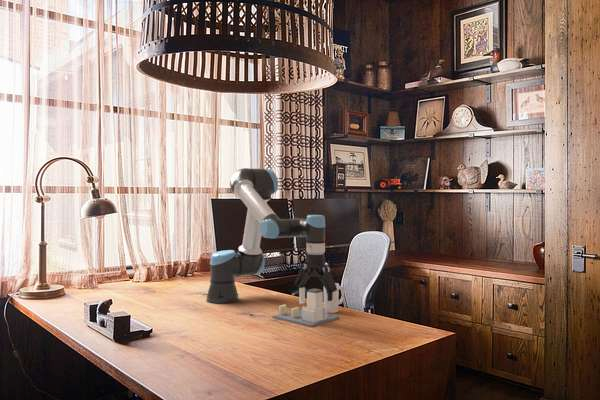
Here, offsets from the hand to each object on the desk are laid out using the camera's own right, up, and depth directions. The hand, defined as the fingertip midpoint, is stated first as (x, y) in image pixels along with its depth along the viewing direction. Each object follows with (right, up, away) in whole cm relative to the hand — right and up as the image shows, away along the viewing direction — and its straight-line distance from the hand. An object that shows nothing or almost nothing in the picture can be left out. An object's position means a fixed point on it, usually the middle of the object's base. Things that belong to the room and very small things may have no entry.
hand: (314, 306), depth 198 cm
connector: (0, -5, 0) cm, 5 cm away
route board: (-4, -6, +6) cm, 9 cm away
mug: (+9, -6, +19) cm, 22 cm away
